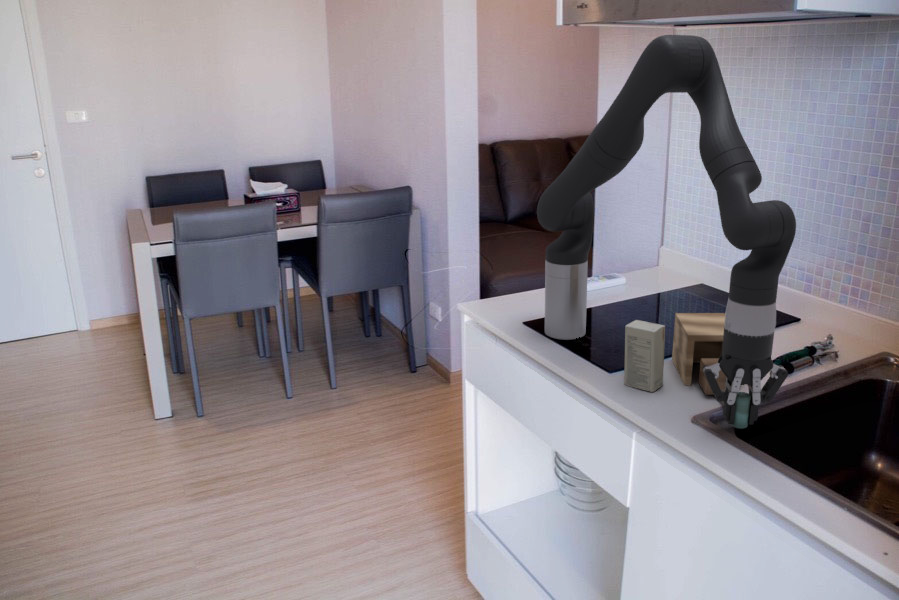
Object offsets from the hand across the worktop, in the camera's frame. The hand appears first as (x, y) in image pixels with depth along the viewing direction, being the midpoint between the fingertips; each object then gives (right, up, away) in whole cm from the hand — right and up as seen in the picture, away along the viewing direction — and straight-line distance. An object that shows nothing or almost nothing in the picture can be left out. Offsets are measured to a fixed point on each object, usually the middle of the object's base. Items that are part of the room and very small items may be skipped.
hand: (739, 421), depth 125 cm
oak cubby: (+2, +6, +22) cm, 23 cm away
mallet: (+1, +2, +7) cm, 8 cm away
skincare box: (-12, +4, +18) cm, 22 cm away
